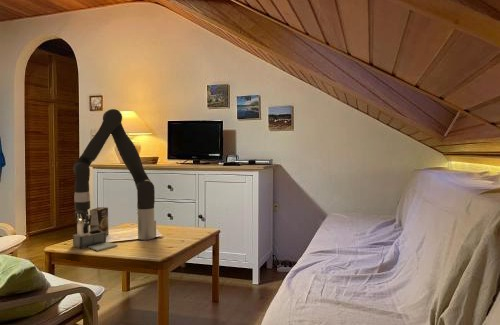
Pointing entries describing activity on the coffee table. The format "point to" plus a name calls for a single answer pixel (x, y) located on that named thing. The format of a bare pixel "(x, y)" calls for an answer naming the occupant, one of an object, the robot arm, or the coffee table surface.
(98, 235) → the grey rectangular bin
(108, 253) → the coffee table surface
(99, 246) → the rubber mat
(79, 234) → the square peg
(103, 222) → the coffee box
